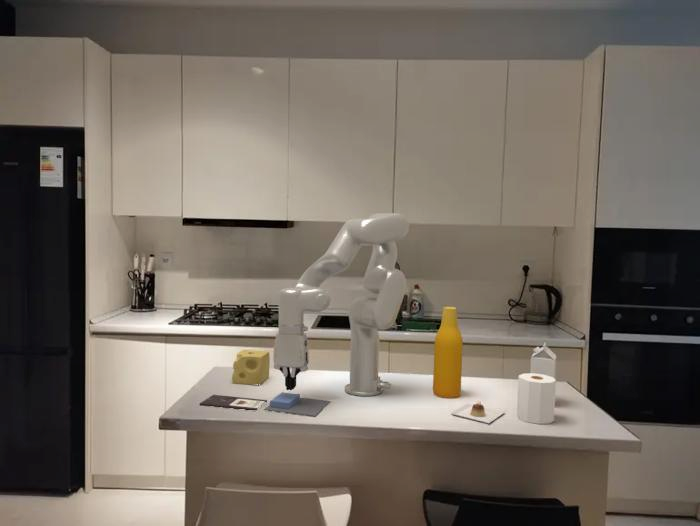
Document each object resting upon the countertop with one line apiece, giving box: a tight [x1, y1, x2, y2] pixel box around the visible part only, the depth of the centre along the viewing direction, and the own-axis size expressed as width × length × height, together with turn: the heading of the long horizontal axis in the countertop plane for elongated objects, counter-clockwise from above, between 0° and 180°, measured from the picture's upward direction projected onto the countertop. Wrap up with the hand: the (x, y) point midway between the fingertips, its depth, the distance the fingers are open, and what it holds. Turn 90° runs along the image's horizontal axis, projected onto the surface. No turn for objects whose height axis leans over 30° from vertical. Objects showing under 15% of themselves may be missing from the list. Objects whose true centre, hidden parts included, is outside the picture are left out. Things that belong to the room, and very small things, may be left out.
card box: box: [269, 391, 301, 409], centre depth 162 cm, size 9×2×6 cm
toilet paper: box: [516, 372, 557, 425], centre depth 156 cm, size 10×10×12 cm
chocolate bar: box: [199, 394, 268, 411], centre depth 162 cm, size 9×1×18 cm
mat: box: [263, 396, 331, 418], centre depth 161 cm, size 16×14×1 cm
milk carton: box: [529, 341, 557, 380], centre depth 171 cm, size 7×7×19 cm
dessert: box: [450, 400, 505, 424], centre depth 158 cm, size 12×12×5 cm
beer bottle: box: [432, 306, 464, 399], centre depth 176 cm, size 9×9×29 cm
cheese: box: [231, 349, 271, 386], centre depth 187 cm, size 10×11×10 cm
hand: (290, 388), depth 162 cm, fingers closed
